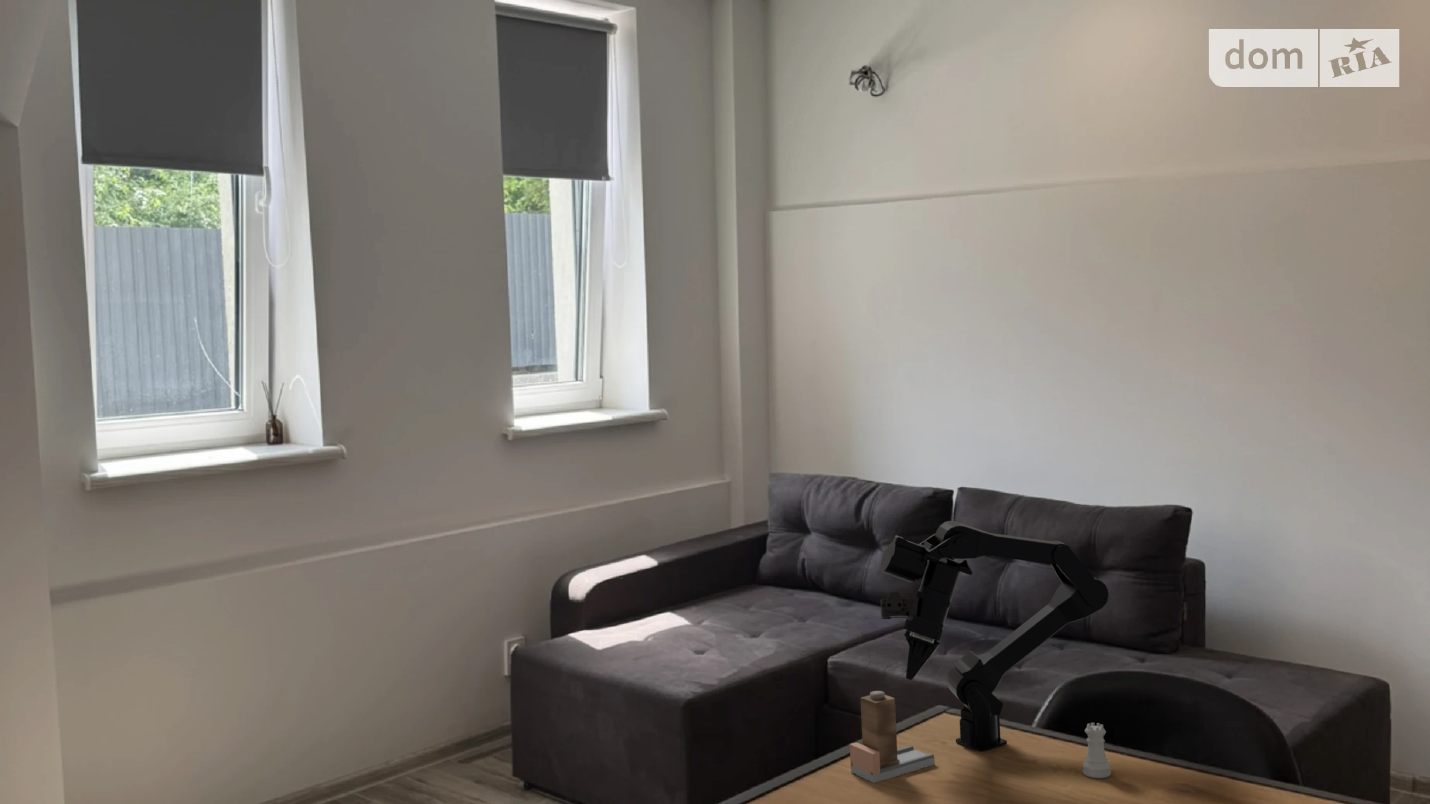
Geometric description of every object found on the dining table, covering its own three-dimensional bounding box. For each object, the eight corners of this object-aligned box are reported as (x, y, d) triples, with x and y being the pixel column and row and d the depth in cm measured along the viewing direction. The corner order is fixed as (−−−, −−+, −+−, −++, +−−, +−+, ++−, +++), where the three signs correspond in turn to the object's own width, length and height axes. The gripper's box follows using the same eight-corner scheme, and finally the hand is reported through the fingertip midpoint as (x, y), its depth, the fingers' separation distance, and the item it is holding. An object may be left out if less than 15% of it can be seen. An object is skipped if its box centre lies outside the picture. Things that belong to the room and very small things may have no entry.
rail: (911, 754, 204) (909, 727, 204) (934, 764, 199) (933, 736, 199) (851, 772, 197) (849, 744, 197) (873, 783, 192) (872, 753, 192)
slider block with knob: (884, 757, 200) (880, 687, 199) (899, 764, 196) (896, 692, 196) (861, 764, 197) (858, 693, 197) (876, 771, 194) (873, 698, 193)
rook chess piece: (1113, 779, 188) (1111, 730, 188) (1083, 779, 189) (1082, 729, 189) (1109, 769, 193) (1107, 721, 192) (1081, 768, 194) (1079, 720, 193)
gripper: (892, 582, 216) (866, 665, 213) (889, 571, 198) (860, 661, 196) (952, 602, 213) (926, 686, 211) (954, 593, 196) (926, 684, 193)
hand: (908, 679), depth 203 cm, fingers closed
